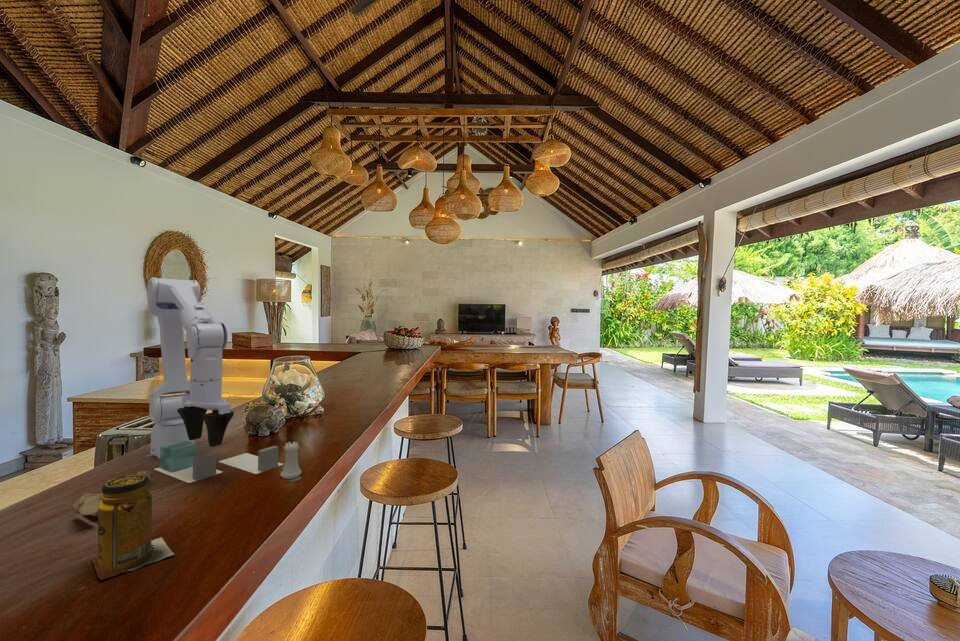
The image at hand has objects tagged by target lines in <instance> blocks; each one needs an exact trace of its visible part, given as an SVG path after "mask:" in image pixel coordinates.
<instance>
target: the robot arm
mask: <svg viewBox="0 0 960 641" xmlns="http://www.w3.org/2000/svg"><path fill="white" fill-rule="evenodd" d="M146 297H147V298H146V299H147V300H146V301H147V309H148V313H149V314H151V315H152V316H156V318H157V322H158V325H159V337H160V338H159V339H160V351H161V364H162V366H161V367H162V375H163V376H162V377H163V383H161V384H160V385H158V386H157V387H155V388H154V389H153V390H152V391H151V393H150V394H149V406H148V407H149V410H148V412H149V419H150V420H151V422H153V424H154V425H153V427H152V428H151V432H150V454H148V455H147V454H146V456H145V457H151V456H155V457H157V459H159V460H160V446H162V445H166V444H170V443H174V442H179V441H183V440H186V441H189V442H192V443H195V440H199V439H201V438H202V434H203V428H204V424H205V426H206V431H207V442H208V446H209V447H211V448H213V447H217V446H220V445H222V443H223V440H224V436H225V433H226V430H227V428H228V425H229V424H230V422H231V420H232V419H233V417H234V416H235V411H232V410H231V409H232V408H231V407H232V403H230V402H228V401H227V400H225V399H224V398H222V394H223V392H222V391H223V390H222V387H223V386H222V384H223V383H222V382H223V350H225V348H226V347H227V345H228V340H229V338H228V329H227V326H226V324H225V323H224V322H219V321H215V319H214V317H213V316H212V314H211V312H210V311H209V309H208V308H207V307H206V306H205V305H203V304H200V303H199V301H200V298H201V286H200V283H199V282H198V281H197V280H196V279H179V278H177V279H174V278H162V277H161V278H160V277H154V276H152V277H150V279H149V280H148V281H147V286H146ZM184 330H185V331H186V332H185V333H186V335H185V338H184ZM185 339H186V340H185ZM185 342H186V346H187V356H188V358H189V359H190V360H189V362H190V364H189V366H190V367H189V379H188V374H187V373H188V372H187V363H186V362H187V361H186V352H185V351H186V350H185ZM208 411H211V412H208Z"/></svg>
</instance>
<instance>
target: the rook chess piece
mask: <svg viewBox="0 0 960 641" xmlns="http://www.w3.org/2000/svg"><path fill="white" fill-rule="evenodd" d="M299 449H300V446H299V443H298V441H297V442H296V441H292V442H291V441H288V442H286V443H285V446H284V447H283V450H284V452H285V454H284V455H283V456H284V457H285V460H284V464H283V465H284V466H283V468H282V471H280V477H281V478H282V479H285V480H287V481H285V482H284V484H293V483H297V482H298V481H300V480H301V479H302V477H303V476H302V475H301V474H302V473H303V472H302V469H301V467H300V466H299V462H298V461H299V460H298V455H299V453H298V450H299ZM290 479H291V480H290Z"/></svg>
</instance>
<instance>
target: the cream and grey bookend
mask: <svg viewBox="0 0 960 641" xmlns="http://www.w3.org/2000/svg"><path fill="white" fill-rule="evenodd" d="M218 463H221V464H224V465H227V466H230V467H233V468H236V469H239V470H242V471H245V472H248V473H250V474H254V475H257V474H260V473H261V474H262V473H264V472H266V471H269V470H272V469H275V468H277V467H280V466H283V465H284V463H281V462H279V446H277V445H271V446H269V447H265V448H262V449H259V450H257V455H254V454H251V453H248V452H246V453H242V454H238V455H235V456H232V457H228V458H224V459H221V460H218Z"/></svg>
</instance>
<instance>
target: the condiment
mask: <svg viewBox="0 0 960 641" xmlns="http://www.w3.org/2000/svg"><path fill="white" fill-rule="evenodd" d="M149 483H150V479H149V478H148V477H147V476H145V475H137V474H128V475H123V476H119V477H115V478H113V479H110V480H108V481H107V482H105V483H104V484H103V486H102V488H101V493H102V500H103V501H102V502H101V503H100V505H99V509H98V516H97V517H98V521H97V524H98V526H97V558H98V564H99V566H100V568H101V569H102V570H104V571H117V570H126V569H128V571H130V572H131V571H135V570H137V569H140V568H142V567H143V566H146V565H150V564H153V563H155V562H159V561H161V560H163V559H165V558H168V557H171V556H174V555H175V553H174V552H173V551H172V550H171V549H170V547H169V546H168V545H167V543H166V541H165V540H164V538H163V537H162V536H161V537H159V538H154V539H152V531H153V530H152V529H153V528H152V526H153V525H152V523H153V521H152V519H153V517H152V516H153V514H152V513H153V495H152V493H151V492H150V485H149ZM151 545H154V546H152V547H154V549H151ZM157 550H158V551H157ZM160 551H161V553H159V552H160ZM151 552H154V553H155V554H154V553H153V554H152V553H151ZM152 556H153V557H152Z"/></svg>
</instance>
